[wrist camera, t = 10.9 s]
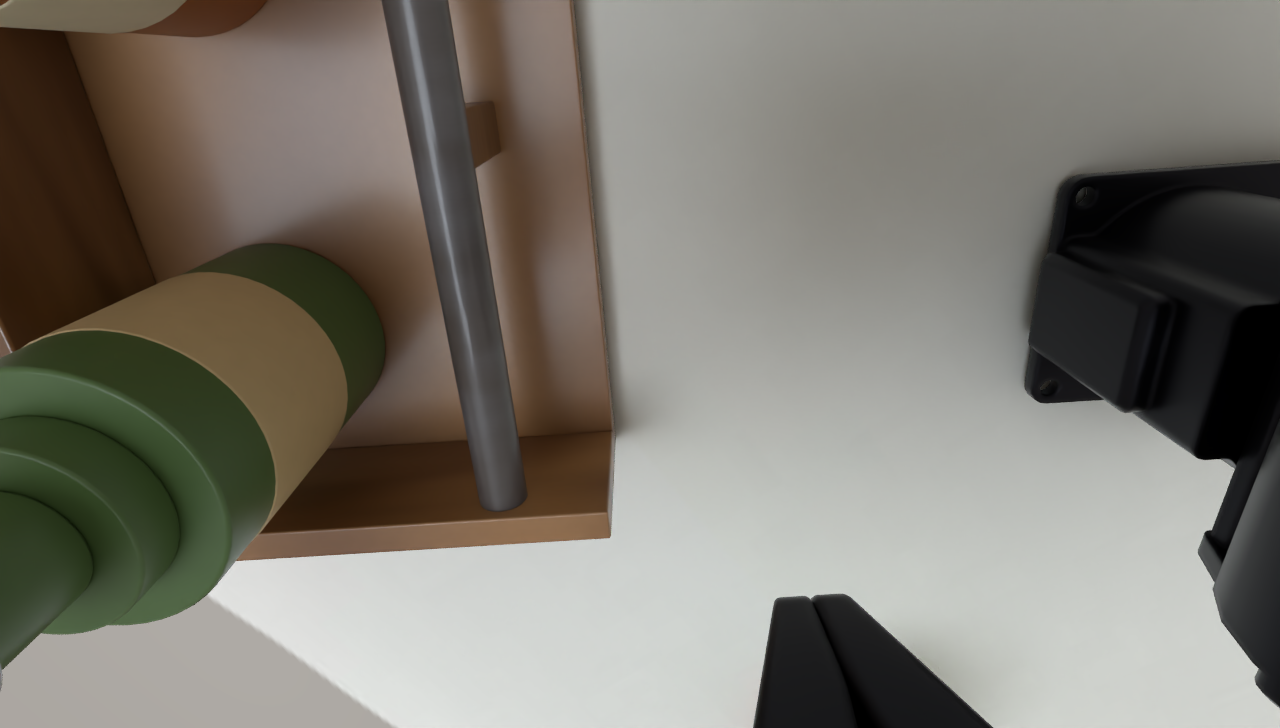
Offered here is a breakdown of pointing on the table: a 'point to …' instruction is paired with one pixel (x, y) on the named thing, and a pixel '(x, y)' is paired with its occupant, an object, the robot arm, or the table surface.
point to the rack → (348, 238)
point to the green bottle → (170, 435)
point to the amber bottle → (130, 16)
